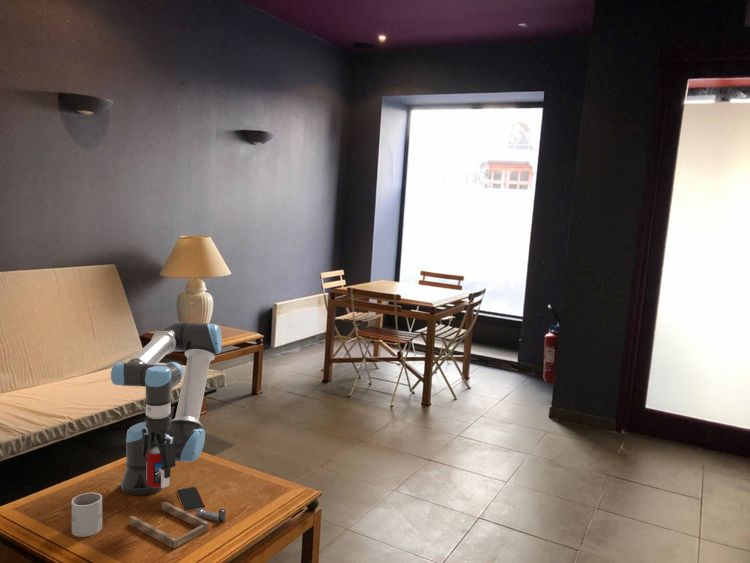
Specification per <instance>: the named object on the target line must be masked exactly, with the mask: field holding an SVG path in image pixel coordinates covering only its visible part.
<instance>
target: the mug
mask: <svg viewBox="0 0 750 563" xmlns="http://www.w3.org/2000/svg"><path fill="white" fill-rule="evenodd" d="M102 529H103V495H102V494H101V493H98V492H86V493H85V492H84V493H82V494H79V495H76V496H75V497H73V498H72V500H71V534H72V535H73V536H74V537H81V538H83V537H89V536H90V537H91V536H93V535H96V534H97V533H99V532H100V531H101V530H102Z"/></svg>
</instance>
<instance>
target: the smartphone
mask: <svg viewBox="0 0 750 563" xmlns="http://www.w3.org/2000/svg"><path fill="white" fill-rule="evenodd" d="M175 493H176V496H177V498H178V501H179V503H180V506H181V509H182V510H184V511H186V512H188V513H191V512H196V510H197V509H198V508H203V509H205V510H206V509H207V506H206V504H205V501H204V500H203V498H202V494H201V493H200V491H199V488H198V487H197V486H191V487H184V488H180V489H177V490H175Z"/></svg>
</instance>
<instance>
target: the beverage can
mask: <svg viewBox="0 0 750 563" xmlns="http://www.w3.org/2000/svg"><path fill="white" fill-rule="evenodd" d="M161 468H163V465H162V461H161V456H160V451H159V448H157V446H155V447H153V448H150V449H149V452H148V454H147V485H148V486H150V487H152V488H160V487H161Z"/></svg>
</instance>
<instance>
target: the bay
mask: <svg viewBox="0 0 750 563" xmlns="http://www.w3.org/2000/svg"><path fill="white" fill-rule="evenodd" d="M161 511H165V513H168V514H170V515H172V516H175V517H176V518H178V519H180V520H182V521H184V522H186V523H188V524H191V525H192V526H195V528H193V529H191V530H190V531H188V532H186V533H184V534H182V535H179V536H178V537H174V536H172V535H171V534H169V533H167V532H165V531H163V530H161V529H159V528H157V527H155V526H153V525H151V524H149V523H148V522H146V521H144V520H142V519H140V518H138V517H137V516H135V515H131V516H129V525H130V526H132V527H133V528H135V529H137V530H139V531H141V532H142V533H144V534H146V535H148V536H150V537H151V538H154V539H156V540H157V541H159V542H161V543H162V544H164V545H166V546H168V547H170V548H172V549H176V548H178V547H180V546H181V545H183V544H185V543H187V542H189V541H191V540H193V539H194V538H197V537H198V536H200V535H202V534H204V533H206V532H208V531H209V529H210V522H209V521H207V520H205V519H203V518H202V517H197V516H196V514H192V513H191V512H186V511H184V510H183V509H182V508H180V507H178V506H176V505H173V504H171V503H169V502H167V501H165V500H164V501H162V502H161Z"/></svg>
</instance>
